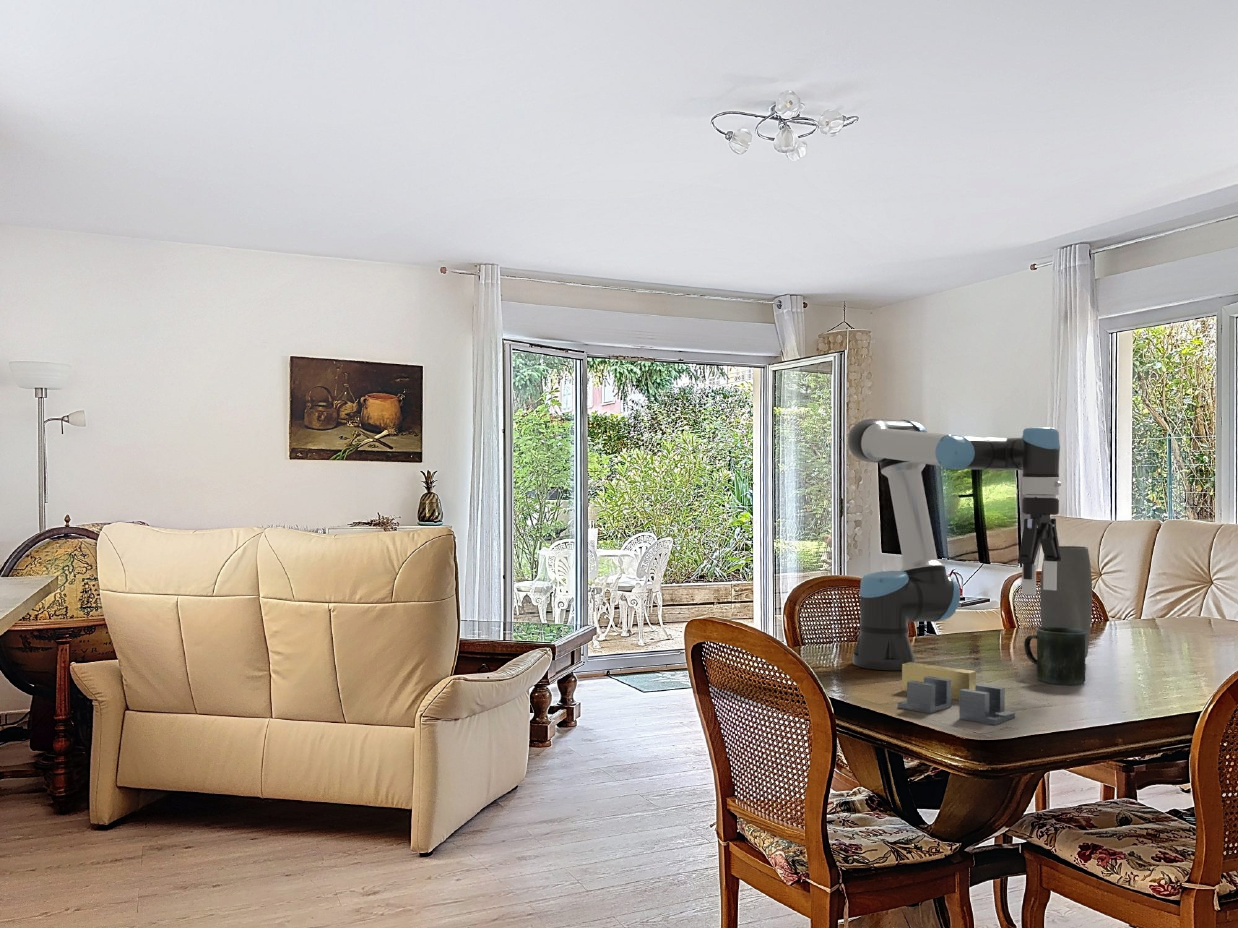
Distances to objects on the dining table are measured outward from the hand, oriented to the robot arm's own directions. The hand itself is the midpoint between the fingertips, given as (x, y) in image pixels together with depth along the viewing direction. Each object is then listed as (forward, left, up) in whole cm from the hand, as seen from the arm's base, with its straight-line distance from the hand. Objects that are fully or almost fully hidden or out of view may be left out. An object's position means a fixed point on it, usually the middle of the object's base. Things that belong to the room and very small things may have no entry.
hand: (1039, 592), depth 218 cm
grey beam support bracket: (+3, -35, -22) cm, 42 cm away
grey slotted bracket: (-8, -35, -22) cm, 42 cm away
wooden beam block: (-13, -21, -22) cm, 33 cm away
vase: (-9, +42, -22) cm, 48 cm away
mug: (-2, +15, -22) cm, 26 cm away
